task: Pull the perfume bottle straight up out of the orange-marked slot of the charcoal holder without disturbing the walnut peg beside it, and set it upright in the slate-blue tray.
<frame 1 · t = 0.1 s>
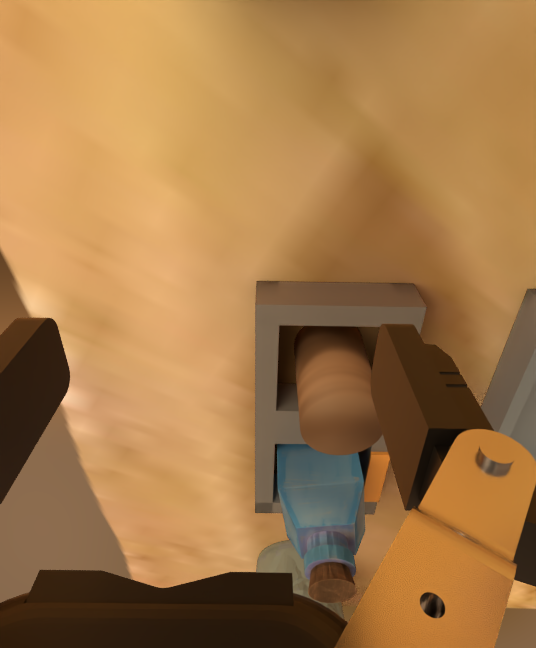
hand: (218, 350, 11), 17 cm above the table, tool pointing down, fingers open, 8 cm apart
slot holder: (321, 400, 36), on the table
perfume bottle: (316, 444, 39), resting in slot holder
walnut peg: (327, 345, 33), resting in slot holder
grey cup: (293, 559, 49), on the table
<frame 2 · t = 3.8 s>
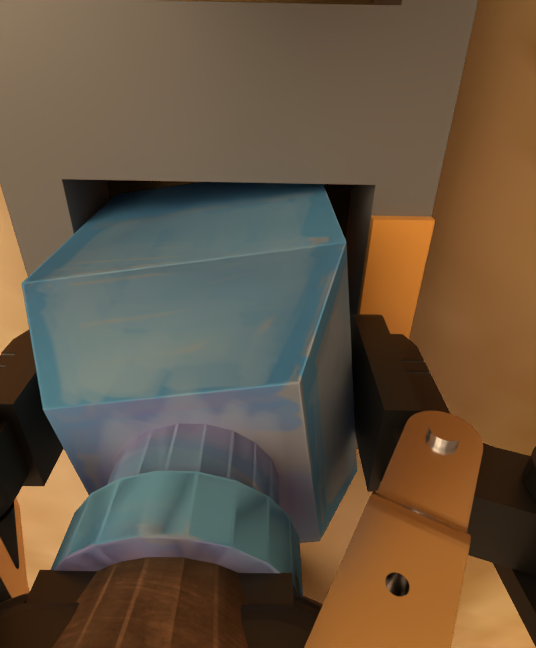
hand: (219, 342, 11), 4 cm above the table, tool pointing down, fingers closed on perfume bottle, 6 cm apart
slot holder: (226, 89, 12), on the table
perfume bottle: (233, 269, 15), resting in slot holder, touching gripper
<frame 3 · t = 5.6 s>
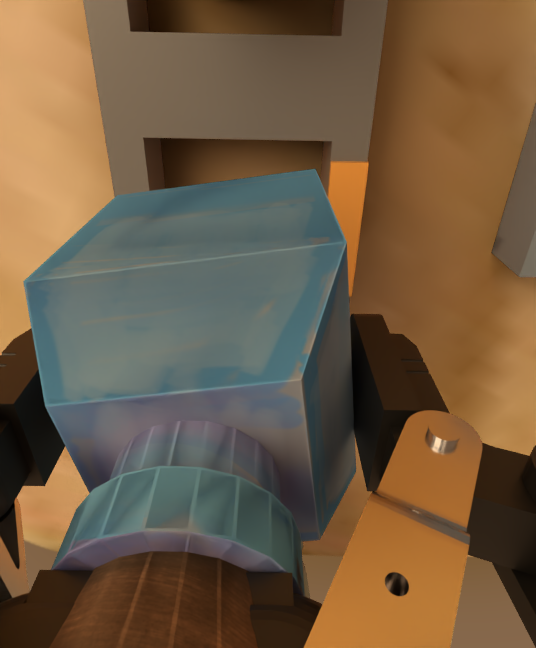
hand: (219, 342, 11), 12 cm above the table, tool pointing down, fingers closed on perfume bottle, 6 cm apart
slot holder: (241, 85, 19), on the table
perfume bottle: (232, 271, 15), point 8 cm above the table, touching gripper
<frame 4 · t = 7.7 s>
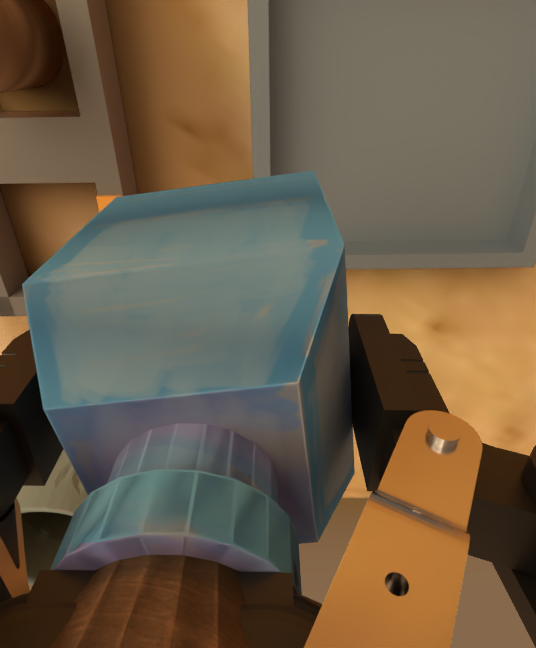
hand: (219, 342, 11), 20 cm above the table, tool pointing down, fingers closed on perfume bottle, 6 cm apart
slot holder: (44, 142, 27), on the table
tray: (403, 110, 27), on the table
perfume bottle: (231, 272, 15), point 15 cm above the table, touching gripper
walnut peg: (17, 36, 25), resting in slot holder
grey cup: (109, 426, 41), on the table
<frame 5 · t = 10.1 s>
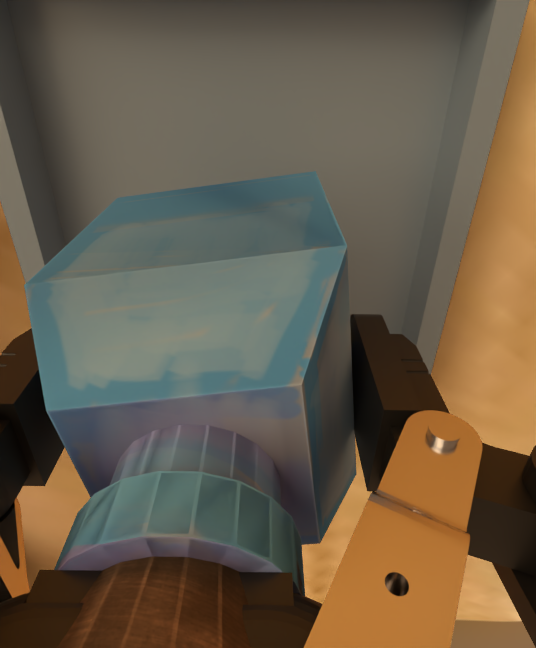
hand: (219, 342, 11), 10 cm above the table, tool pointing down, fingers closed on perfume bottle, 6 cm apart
tray: (242, 215, 20), on the table
perfume bottle: (232, 273, 15), point 6 cm above the table, touching gripper
when the fingers open (6 cm above the table, at t = 11.9 s): perfume bottle drops 1 cm, resting on tray.
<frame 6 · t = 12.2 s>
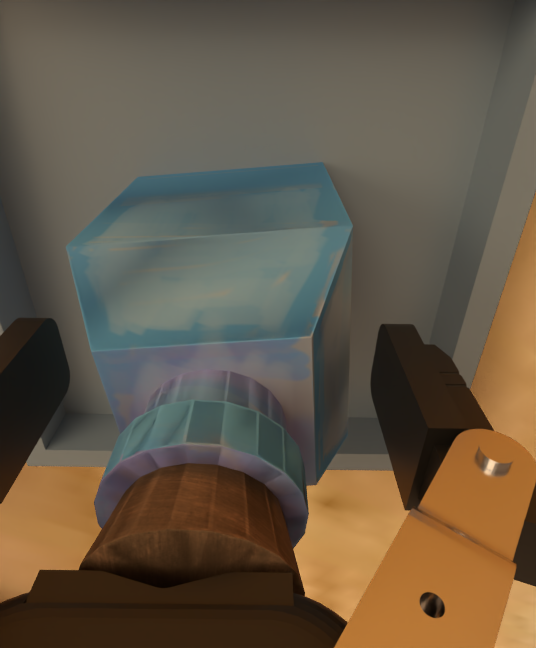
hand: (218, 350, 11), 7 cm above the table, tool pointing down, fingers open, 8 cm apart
tray: (235, 247, 17), on the table
perfume bottle: (240, 253, 17), point 1 cm above the table, touching tray
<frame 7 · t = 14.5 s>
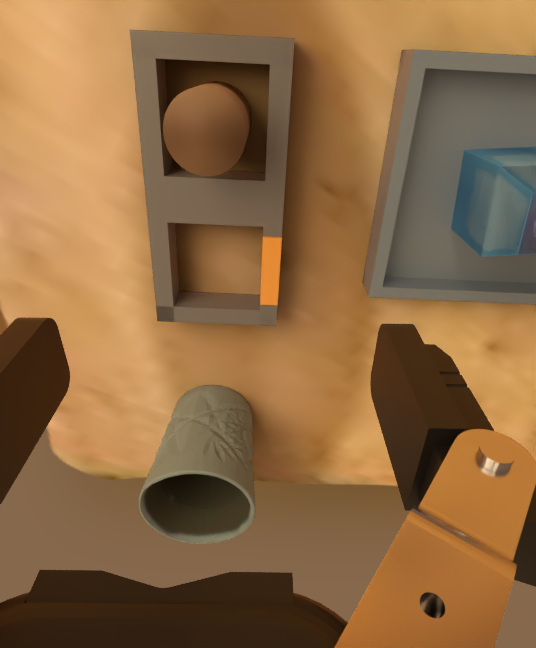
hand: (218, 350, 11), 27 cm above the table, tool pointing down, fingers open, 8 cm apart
slot holder: (219, 192, 36), on the table
tray: (489, 186, 36), on the table
perfume bottle: (495, 188, 35), point 1 cm above the table, touching tray
walnut peg: (218, 118, 34), resting in slot holder
grey cup: (212, 415, 49), on the table
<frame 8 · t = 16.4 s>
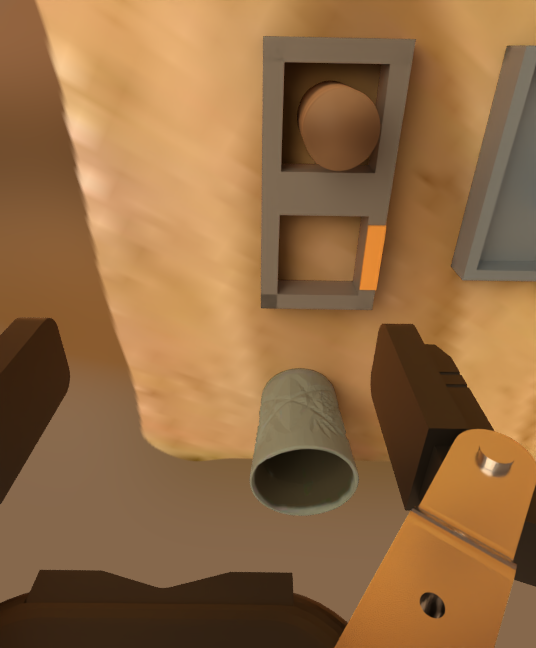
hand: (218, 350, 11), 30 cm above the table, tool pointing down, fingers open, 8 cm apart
slot holder: (322, 185, 39), on the table
walnut peg: (327, 115, 36), resting in slot holder
grey cup: (296, 397, 52), on the table
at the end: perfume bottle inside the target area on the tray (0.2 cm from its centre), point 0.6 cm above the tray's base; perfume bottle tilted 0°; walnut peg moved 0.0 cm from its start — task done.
